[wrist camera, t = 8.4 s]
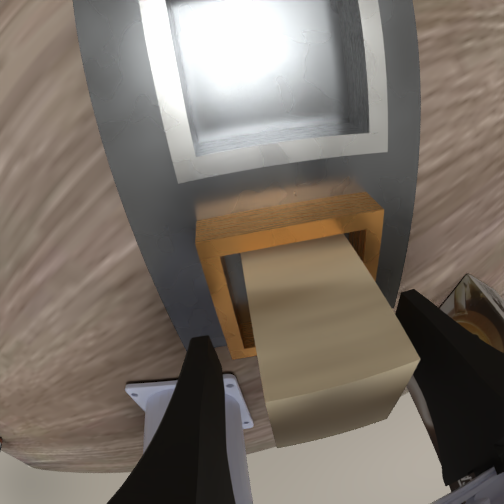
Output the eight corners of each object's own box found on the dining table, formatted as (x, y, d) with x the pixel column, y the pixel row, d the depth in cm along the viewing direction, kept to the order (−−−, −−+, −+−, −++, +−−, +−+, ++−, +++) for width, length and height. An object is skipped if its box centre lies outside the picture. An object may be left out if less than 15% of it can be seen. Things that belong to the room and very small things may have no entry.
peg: (332, 291, 14) (386, 418, 9) (252, 308, 14) (277, 448, 9) (334, 220, 12) (420, 359, 6) (238, 238, 12) (265, 401, 6)
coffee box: (431, 360, 23) (494, 502, 10) (390, 357, 21) (459, 535, 8) (496, 288, 19) (588, 434, 5) (467, 270, 16) (584, 460, 3)
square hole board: (388, 298, 17) (405, 327, 15) (187, 340, 16) (186, 375, 14) (394, -33, 6) (428, -44, 4) (80, -2, 6) (51, -13, 4)
